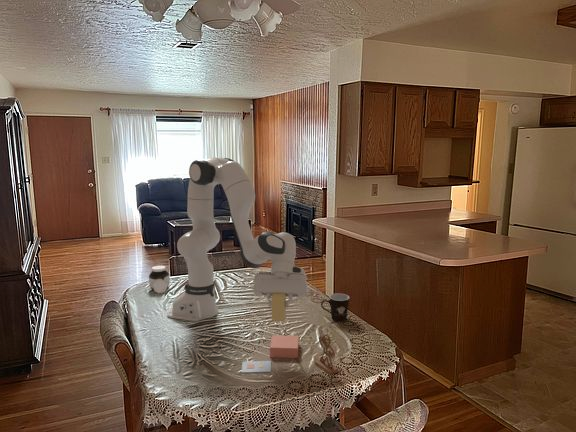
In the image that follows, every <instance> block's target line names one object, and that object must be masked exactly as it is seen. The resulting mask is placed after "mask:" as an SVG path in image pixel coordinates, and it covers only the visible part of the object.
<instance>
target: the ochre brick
mask: <svg viewBox="0 0 576 432" xmlns="http://www.w3.org/2000/svg"><path fill="white" fill-rule="evenodd" d="M270 300H271V305H272V307H271V321H272V322H285V320H286V318H287V307H285V301H287V299H286V294H284V293H273V295H272V296H271V298H270Z"/></svg>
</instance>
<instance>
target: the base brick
mask: <svg viewBox="0 0 576 432" xmlns="http://www.w3.org/2000/svg"><path fill="white" fill-rule="evenodd" d="M299 343H300V337H299V335H278V334H276V335H274V334H273V335H272V336H271V341H270V346H269V357H270V358H288V359H289V358H290V359H292V358H295V359H298V357H299V346H300V345H299Z"/></svg>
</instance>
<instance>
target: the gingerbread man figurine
mask: <svg viewBox="0 0 576 432" xmlns="http://www.w3.org/2000/svg"><path fill="white" fill-rule="evenodd" d="M318 340H319V341H318V342H319V344H320V346H321V347H322V348H323V351H322V355H321V357H320V358H319V359H318V360H315V361H314V365H315V366H316V367H319V369H321V370H322V371H323V372H326V373H327V374H328V375H330V376H331V375H334V374H336V373H339V372H340V368H338V367H336V366H335V365H334V364H333V362H332V359H334V358H335V357H336V353H335V350H334V348H333V346H331V343H332V340H331V337H330V335H329V334H324V335H323V336H322V335H321V336H319V337H318ZM328 349H330V350H328ZM324 356H325V358H324Z"/></svg>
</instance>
